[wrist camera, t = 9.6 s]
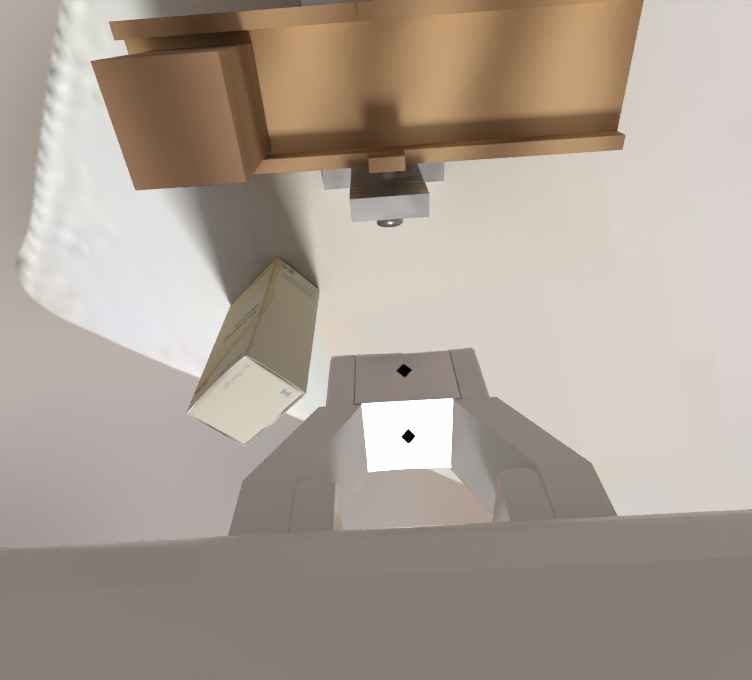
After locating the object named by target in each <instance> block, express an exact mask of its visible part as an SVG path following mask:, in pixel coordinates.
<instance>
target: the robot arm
mask: <svg viewBox="0 0 752 680" xmlns="http://www.w3.org/2000/svg"><path fill="white" fill-rule="evenodd" d="M431 467H451V470H452V471H453V472H454V473H455V474H456V475H457V477H458V478H459V479H460V480H461V481H462V482H463V483H464V484H465V486H466V487H467V488H468V489H469V490H470V491H471V492H472V493H473V495H474V496H475V497H476V498H477V499H478V500H479V501H480V502H481V504H482V505H483V506H484V507H485V508H486V509H487V510H488V512H489V513H490V514H491V515H492V516H493V519H492V522H490V523H470V524H453V525H452V524H450V525H431V526H411V527H392V528H373V529H353V530H343V528H342V522H341V516H342V514H343V513H344V511H345V510H346V508H347V507H348V505H349V504H350V502H351V500H352V499H353V497H354V496H355V494H356V493H357V491H358V489H359V488H360V486H361V485H362V483H363V482H364V480H365V479H366V477H367V475H368V474H369V471H377V470H378V471H379V470H391V469H404V468H431ZM0 680H752V509H747V510H727V511H708V512H689V513H670V514H651V515H631V516H617V514H616V512H615V510H614V508H613V506H612V504H611V502H610V500H609V498H608V496H607V494H606V492H605V490H604V488H603V486H602V484H601V482H600V480H599V478H598V476H597V474H596V472H595V470H594V468H593V465H592V463H590V462H589V461H587V460H586V459H585V458H583V457H582V456H580V455H579V454H577V453H576V452H575V451H573V450H572V449H570V448H569V447H567V446H566V445H565V444H563V443H562V442H560V441H559V440H557V439H556V438H555V437H553V436H552V435H550V434H549V433H547V432H546V431H545V430H543V429H542V428H540V427H539V426H537V425H536V424H535V423H533V422H532V421H530V420H529V419H527V418H526V417H525V416H523V415H522V414H520V413H519V412H517V411H516V410H514V409H513V408H512V407H510V406H509V405H507V404H506V403H504V402H503V401H502V400H500V399H499V398H497V397H489V394H488V391H487V388H486V384H485V381H484V378H483V375H482V372H481V369H480V366H479V363H478V360H477V357H476V354H475V351H474V350H473V349H472V348H464V349H453V350H448V351H435V352H420V353H404V354H402V353H394V354H366V355H356V356H355V355H345V356H332V358H331V361H330V371H329V381H328V390H327V400H326V407H318V408H317V409H316V410H315V411H314V412H313V413H312V414H311V415H310V416H309V417H308V418H307V419H306V420H305V421H304V422H303V423H302V424H301V425H300V426H299V427H298V428H297V429H296V430H295V431H294V432H293V433H292V434H291V435H290V436H289V437H288V438H287V439H285V440H284V441H283V442H282V443H281V444H280V445H279V446H278V447H277V449H275V450H274V451H273V452H272V453H271V454H270V455H269V456H268V457H267V458H266V459H265V460H264V461H263V462H262V463H261V464H260V465H259V466H258V467H257V468H256V469H255V470H254V471H253V472H252V473H250V474H249V475H248V476H247V477H246V478H245V479H244V480H243V482H242V486H241V490H240V493H239V497H238V501H237V504H236V508H235V512H234V516H233V520H232V523H231V527H230V531H229V534H228V536H218V537H217V536H216V537H196V538H176V539H158V540H137V541H117V542H98V543H78V544H58V545H39V546H19V547H0Z"/></svg>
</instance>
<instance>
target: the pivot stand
mask: <svg viewBox="0 0 752 680" xmlns="http://www.w3.org/2000/svg"><path fill="white" fill-rule="evenodd" d="M357 1H368V0H301V6H314V5H326V4H339V3H351V2H357ZM322 174H323V182H324V190H327V189H340V188H350V208H351V218H352V222H363V221H377V224H378V225H379V226H382V227H394V226H398V225H400V224H402V222H403V219H404V218H417V217H429V192H428V189H427V187H426V184H425V182H434V181H444V162H432V163H418V164H405V171H396V182H395V183H392V184H381V183H379V173H369V167H359V168H344V169H329V170H322Z"/></svg>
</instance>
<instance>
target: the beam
mask: <svg viewBox="0 0 752 680" xmlns="http://www.w3.org/2000/svg"><path fill="white" fill-rule="evenodd" d="M643 1H644V0H368V1H357V2H351V3H339V4H326V5H314V6H301V7H288V8H276V9H263V10H251V11H238V12H226V13H213V14H200V15H188V16H175V17H163V18H150V19H137V20H125V21H112V22H109V24H110V27H111V30H112V34H113V37H114V40H124V41H125V44H126V47H127V50H128V54H129V55H130V54H136V53H142V52H148V51H155V50H168V49H180V48H193V47H206V46H218V45H231V44H244V43H252V45H253V51H254V56H255V62H256V67H257V73H258V78H259V84H260V89H261V95H262V101H263V106H264V112H265V117H266V123H267V128H268V134H269V139H270V145H271V151H270V152H269V153H268V155H267V156H266V157H265V159H264V160H263V161H262V162H261V164H260V165H259V166H258V168H257V169H256V170H255V172H254V173H253V174H252V175H256V174H270V173H285V172H300V171H315V170H329V169H344V168H359V167H369V173H379V183H381V184H392V183H395V182H396V171H405V164H418V163H432V162H447V161H462V160H477V159H491V158H506V157H521V156H536V155H550V154H565V153H580V152H595V151H609V150H622V149H623V144H624V139H625V135H624V134H622V133H620V132H618V131H617V129H618V124H619V119H620V114H621V109H622V104H623V99H624V94H625V90H626V85H627V80H628V75H629V70H630V65H631V60H632V55H633V50H634V45H635V40H636V35H637V30H638V25H639V20H640V15H641V10H642V6H643Z"/></svg>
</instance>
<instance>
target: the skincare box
mask: <svg viewBox="0 0 752 680" xmlns="http://www.w3.org/2000/svg"><path fill="white" fill-rule="evenodd" d="M318 299H319V289H317V288H316V287H315V286H314V285H312V284H311V283H310V282H309V281H308V280H306V279H305V278H304V277H303V276H301V275H300V274H299V273H298V272H296V271H295V270H294V269H292V268H291V267H290V266H289V265H287V264H286V263H285V262H283V261H282V260H281V259H279V258H276V259H275V260H274V261H273V262H272V263H271V264H270V265H269V266H268V267H267V268H266V269H265V270H264V271H263V272H262V273H261V274H260V275H259V276H258V277H257V278H256V279H255V280H254V281H253V282H252V283H251V284H250V285H249V287H248V288H247V289H246V290H245V291H244V292H243V293H242V294H241V295H240V296H239V297H238V298H237V299H236V301H235V302H234V303H233V304H232V305H231V306H230V308H229V311H228V313H227V315H226V318H225V320H224V323H223V325H222V327H221V330H220V332H219V335H218V337H217V340H216V342H215V344H214V347H213V349H212V352H211V354H210V357H209V359H208V362H207V364H206V367H205V369H204V371H203V374H202V376H201V379H200V381H199V384H198V386H197V389H196V391H195V394H194V396H193V399H192V401H191V403H190V406H189V408H188V410H187V414H188V415H190V416H191V417H193V418H195V419H197V420H198V421H200V422H202V423H204V424H205V425H207V426H208V427H210V428H212V429H214V430H215V431H217V432H219V433H220V434H222V435H224V436H226V437H228V438H229V439H231V440H233V441H234V442H236V443H238V444H240V445H242V446H246V445H247V444H249V443H250V442H251V441H252V440H253V439H255V438H256V437H257V436H258V435H259V434H261V433H262V432H263V431H264V430H266V429H267V428H268V427H269V426H270V425H272V424H273V423H274V422H275V421H276V420H277V419H279V417H281V416H282V415H283V414H284V413H285V412H286V411H288V410H289V409H290V408H291V407H292V406H293V405H294V404H295V403H297V402H298V401H299V400H300V399H301V398H302V397H303V396H304V395H305V394H306V389H307V382H308V373H309V366H310V359H311V352H312V344H313V337H314V329H315V321H316V314H317V307H318Z"/></svg>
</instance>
